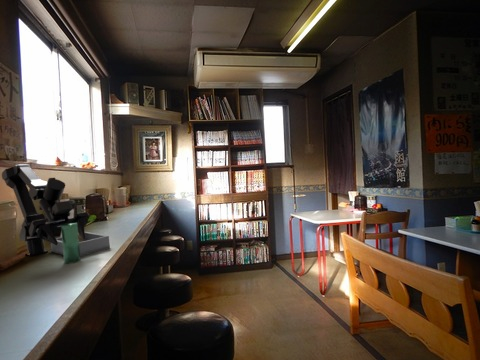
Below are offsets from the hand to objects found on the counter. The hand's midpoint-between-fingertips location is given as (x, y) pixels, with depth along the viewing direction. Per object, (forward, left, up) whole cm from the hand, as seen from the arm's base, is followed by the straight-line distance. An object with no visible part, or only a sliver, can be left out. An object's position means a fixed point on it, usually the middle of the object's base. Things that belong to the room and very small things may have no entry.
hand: (71, 240), depth 102 cm
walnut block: (-22, +8, -6) cm, 24 cm away
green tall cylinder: (-1, 0, -7) cm, 7 cm away
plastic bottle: (-40, +13, -7) cm, 42 cm away
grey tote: (-16, +8, -7) cm, 19 cm away
